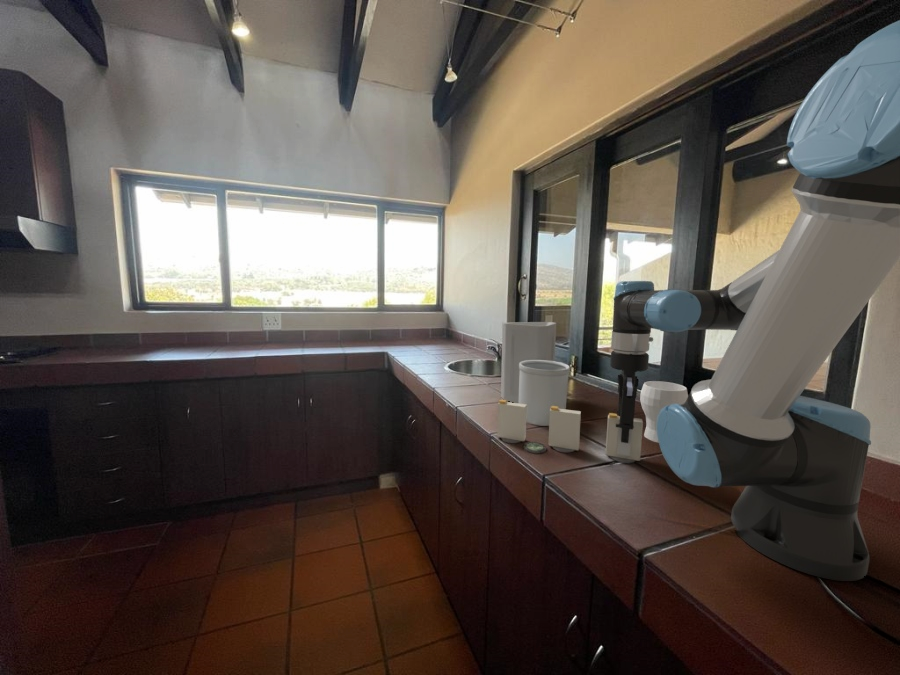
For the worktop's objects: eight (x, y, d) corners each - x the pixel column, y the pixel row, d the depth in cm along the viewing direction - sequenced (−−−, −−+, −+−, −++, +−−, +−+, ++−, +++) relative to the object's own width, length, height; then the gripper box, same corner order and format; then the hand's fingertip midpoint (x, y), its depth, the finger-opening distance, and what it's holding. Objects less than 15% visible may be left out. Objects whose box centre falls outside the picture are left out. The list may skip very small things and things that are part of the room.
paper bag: (512, 409, 115) (515, 326, 112) (500, 396, 130) (501, 322, 126) (566, 407, 118) (570, 325, 114) (548, 394, 132) (551, 321, 129)
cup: (692, 451, 85) (698, 392, 83) (645, 447, 87) (649, 390, 85) (673, 434, 95) (678, 381, 93) (632, 431, 97) (635, 379, 95)
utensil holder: (565, 414, 111) (568, 360, 109) (568, 432, 97) (571, 371, 95) (519, 410, 115) (520, 358, 113) (515, 426, 101) (517, 368, 99)
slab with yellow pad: (640, 465, 76) (644, 422, 75) (605, 459, 79) (608, 417, 78) (638, 455, 81) (641, 414, 80) (605, 450, 84) (608, 410, 82)
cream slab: (522, 445, 86) (524, 406, 85) (495, 440, 89) (496, 403, 88) (526, 437, 91) (527, 400, 90) (500, 433, 94) (501, 397, 92)
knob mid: (578, 455, 81) (580, 413, 80) (547, 449, 84) (549, 409, 83) (579, 446, 86) (581, 407, 85) (550, 441, 89) (551, 403, 87)
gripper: (654, 358, 68) (645, 470, 71) (644, 347, 82) (637, 440, 85) (612, 355, 71) (605, 463, 74) (610, 345, 85) (604, 435, 88)
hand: (622, 451), depth 80 cm, fingers open, 3 cm apart
